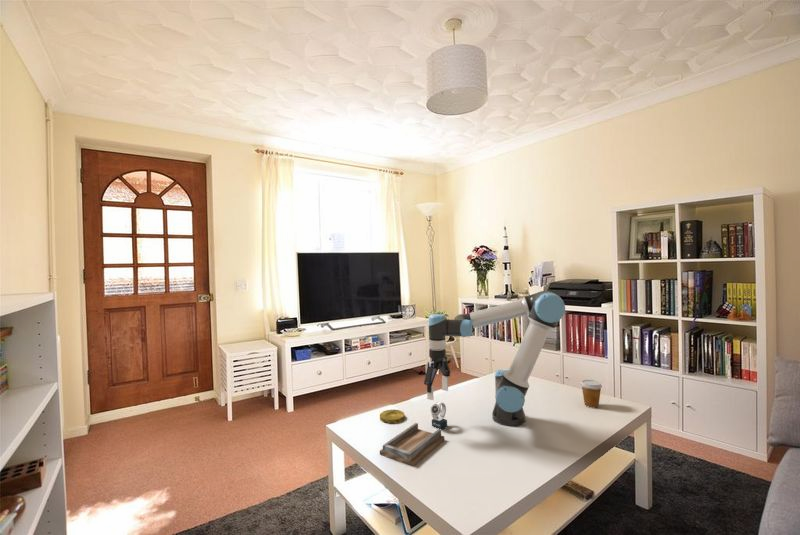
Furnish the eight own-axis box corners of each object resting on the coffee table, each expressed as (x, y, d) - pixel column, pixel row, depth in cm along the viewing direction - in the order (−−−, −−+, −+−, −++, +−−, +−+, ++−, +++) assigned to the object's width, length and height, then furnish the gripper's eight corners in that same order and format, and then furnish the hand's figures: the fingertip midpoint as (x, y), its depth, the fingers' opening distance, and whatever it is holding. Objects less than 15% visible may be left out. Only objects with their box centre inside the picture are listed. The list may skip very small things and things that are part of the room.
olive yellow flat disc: (400, 425, 176) (400, 420, 176) (376, 422, 179) (376, 418, 179) (407, 415, 187) (407, 410, 187) (384, 412, 191) (384, 408, 190)
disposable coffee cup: (602, 404, 193) (602, 381, 192) (601, 410, 185) (600, 386, 184) (582, 401, 198) (582, 378, 197) (580, 407, 190) (579, 383, 189)
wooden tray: (444, 439, 160) (444, 430, 160) (413, 466, 140) (413, 455, 140) (412, 430, 169) (412, 422, 169) (379, 454, 149) (379, 444, 149)
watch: (429, 427, 172) (428, 403, 171) (440, 422, 177) (439, 398, 177) (438, 431, 168) (438, 407, 167) (449, 425, 173) (449, 401, 173)
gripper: (443, 342, 184) (443, 385, 185) (415, 353, 164) (416, 401, 164) (457, 344, 180) (457, 388, 180) (430, 355, 159) (431, 405, 160)
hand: (438, 394), depth 172 cm, fingers open, 13 cm apart
